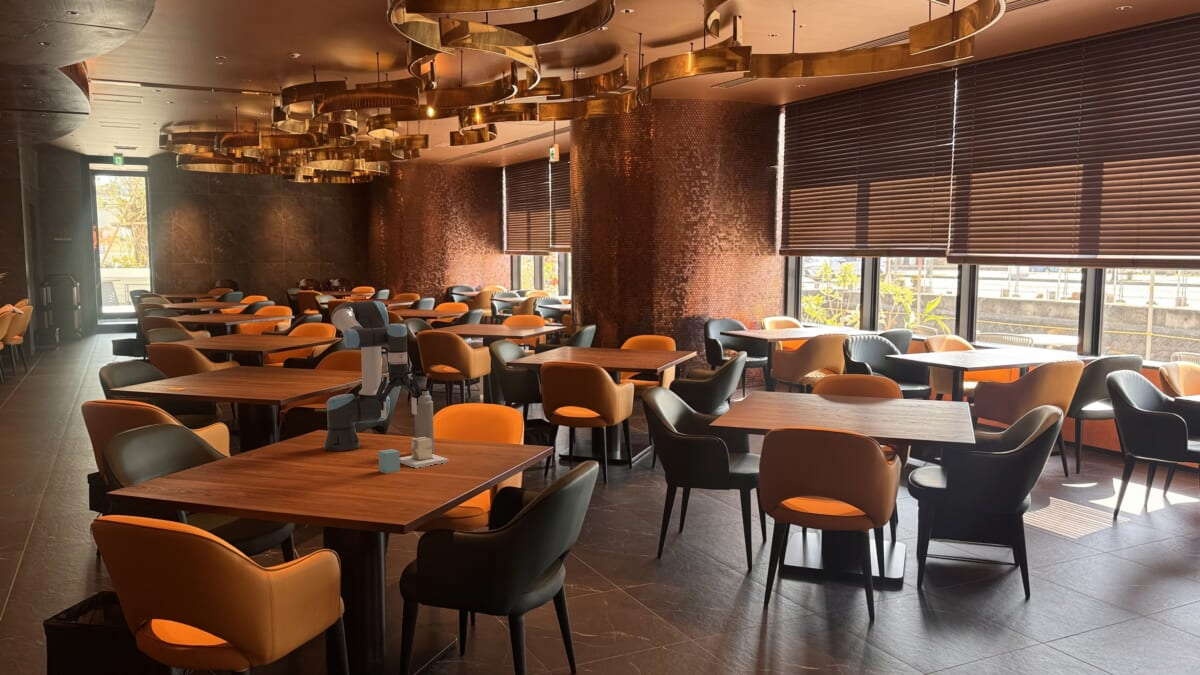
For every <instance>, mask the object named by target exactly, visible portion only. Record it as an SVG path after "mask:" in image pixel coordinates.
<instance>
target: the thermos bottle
mask: <svg viewBox="0 0 1200 675" xmlns="http://www.w3.org/2000/svg"><path fill="white" fill-rule="evenodd" d="M420 389H421V392H422V394H423V395H422V396H420V397H419V398H418V406H417V414H413V416H414V417H413V418H414V419H413V420H414V421H413V422H414V438H420V437H427V438H430V439H432V453H433V452H434V453H435V438H434V437H435V434H434V431H435V430H434V429H435V428H434V401H433V400H432V396H431V394H430V391H429V390H430V389H429V388H426V387H422V388H421V387H420ZM434 453H433V454H434Z"/></svg>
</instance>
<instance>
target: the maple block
mask: <svg viewBox="0 0 1200 675" xmlns="http://www.w3.org/2000/svg"><path fill="white" fill-rule="evenodd" d="M411 456H412V458H414V459H417V460H425V459H430V458H432V439H430V438H427V437H420V438H415V437H414V438H411Z"/></svg>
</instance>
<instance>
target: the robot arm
mask: <svg viewBox="0 0 1200 675" xmlns="http://www.w3.org/2000/svg"><path fill="white" fill-rule="evenodd" d="M330 319H331V323H332V325H333V327H335V328H336V329H337V330H339V331H341V332H342V334H343V344H344V347H345V348H346V349H349V348H350V349H359V348H361V350H360V351H361V352H360V353H361V389H360V390H359V391H358V396H355V394H354V393H344V394H337V395H334V396H331V397H330V398H328V399H327V402H326V415H327V433H326V436H325V441H324V443H323V450H325V451H330V452H346V451H353V450H356V449H357V450H358V449H359V448H360V446H361V445H360V444H361V443H360V439H359V436H358V434H357V431H356V424H361V423H373V422H374V423H377V422H381V421H385V420H386V419H388V416H389V413H390V406H391V404H390V396H389V395H390V393H391V392H392V391H393V389H394V388H397V387H404V388H405V389H406V391H408V393H409V394H411V396H412V397H411V402H410V403H411V414H412V415H414V414H417V406H418V398H419V397H420V396H422V395H423V394H422V392H421V389H420V388H421V387H420V386H419V383H418V382H417V380H416V375H415V373H410V372H409V369H408V368H409V367H408V366H409V365H408V363H407V362H408V329H407V325H406V324H405V323H390V324H389V321H390V320H389V319H390V318H389V313H388V310H387V307H386V305H385V303H384V302H383V301H380V300H365V301H348V302H343V303H341V304H338V306H337V307H335V308H334V310H333V311H332V312H331V318H330ZM382 347H387V363H388V364H387V369H388V370H387V372H388V376H383V375H382V371H383V370H382V367H383V366H382ZM408 372H409V374H408ZM408 380H409V381H410V383H411V384H412V386H411V385H410V383H409V382H408ZM388 381H389V382H388Z"/></svg>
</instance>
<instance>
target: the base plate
mask: <svg viewBox="0 0 1200 675" xmlns="http://www.w3.org/2000/svg"><path fill="white" fill-rule="evenodd" d="M447 462H449V458H446V457H443V456H440V455H438V454H434V453H433V454H432V458H430V459H425V460H417V459H414V458H412V455H407V456H401V457H400V464H403V465H405V466H408V467H411V468H413V467H414V468H415V469H419V467H421V468H426V467H431V466H430V465H432V466H435V465H434V464H438V465H442V464H441V463H443V464H448V463H447ZM425 466H426V467H425ZM414 468H413V469H414Z"/></svg>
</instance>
